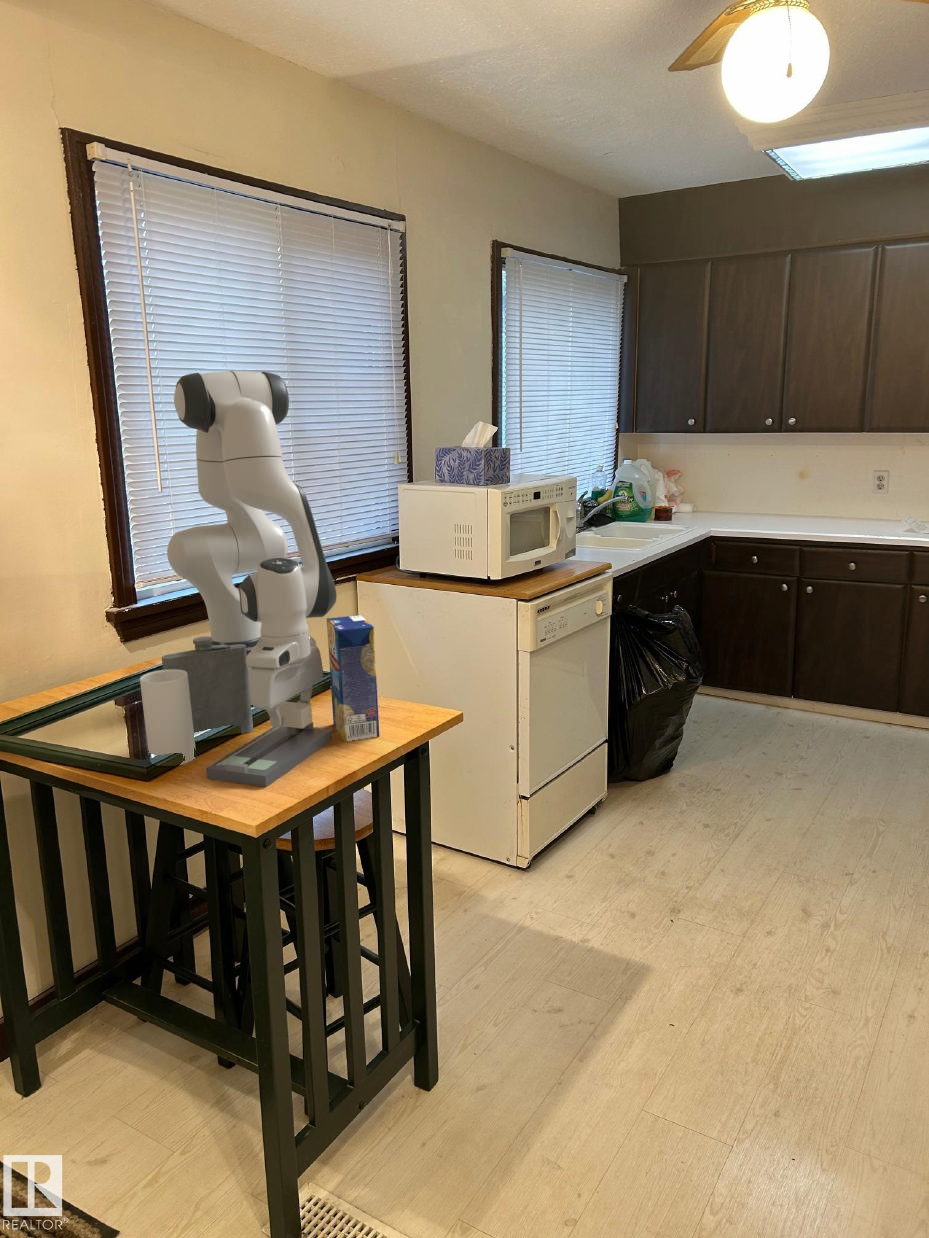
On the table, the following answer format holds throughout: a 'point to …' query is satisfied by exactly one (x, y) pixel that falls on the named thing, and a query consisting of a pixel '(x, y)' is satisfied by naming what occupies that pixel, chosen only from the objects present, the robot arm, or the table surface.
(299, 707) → the fader knob
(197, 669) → the hip flask
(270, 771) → the fader console
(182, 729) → the cup
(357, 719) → the beverage box
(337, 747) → the table surface
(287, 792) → the table surface
